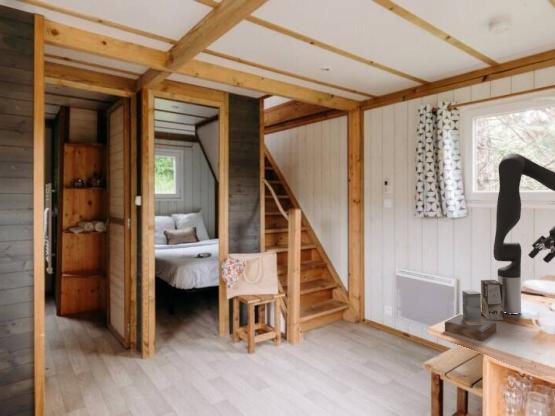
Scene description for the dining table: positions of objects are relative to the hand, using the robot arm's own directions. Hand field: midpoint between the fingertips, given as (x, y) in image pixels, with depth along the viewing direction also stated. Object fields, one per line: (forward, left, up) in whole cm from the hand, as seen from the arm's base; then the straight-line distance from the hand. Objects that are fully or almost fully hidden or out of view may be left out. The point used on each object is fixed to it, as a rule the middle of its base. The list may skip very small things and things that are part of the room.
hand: (537, 259), depth 146 cm
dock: (-6, -24, -31) cm, 40 cm away
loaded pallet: (-5, -24, -27) cm, 36 cm away
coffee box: (-21, -7, -31) cm, 38 cm away
